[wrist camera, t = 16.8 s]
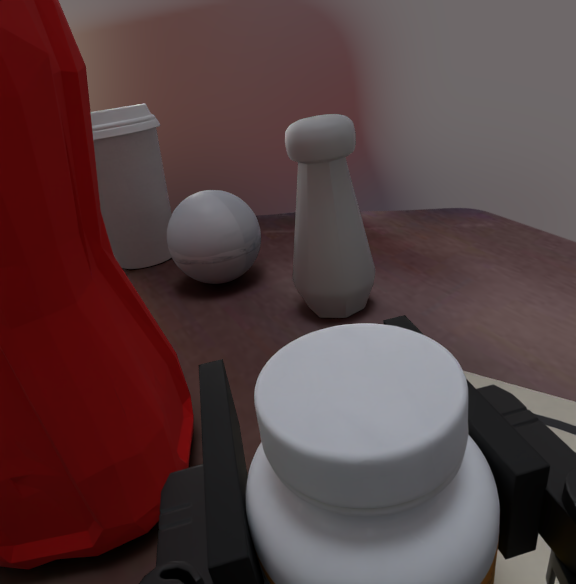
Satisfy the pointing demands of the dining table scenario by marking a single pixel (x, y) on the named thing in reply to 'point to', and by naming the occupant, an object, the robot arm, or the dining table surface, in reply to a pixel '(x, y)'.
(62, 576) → the dining table surface
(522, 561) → the face sheet
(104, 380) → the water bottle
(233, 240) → the bath bomb
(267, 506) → the supplement bottle
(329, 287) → the salt shaker
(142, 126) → the coffee cup
